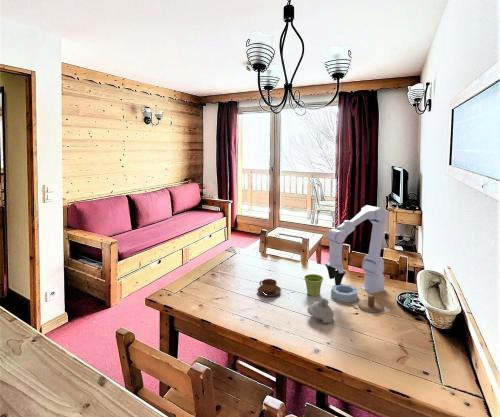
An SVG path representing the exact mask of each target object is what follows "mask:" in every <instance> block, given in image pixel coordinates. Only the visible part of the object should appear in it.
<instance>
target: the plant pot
mask: <svg viewBox="0 0 500 417" xmlns="http://www.w3.org/2000/svg"><path fill="white" fill-rule="evenodd" d="M303 279H304V281H305V287H306V293H307V295H309V296H311V297H313V296H314V297H316V296H319V295H320V292H321V287H322V283H323V280H324V277H323V276H322V275H319V274H316V273H315V274H314V273H311V274H309V273H308V274H305V275H304V277H303Z"/></svg>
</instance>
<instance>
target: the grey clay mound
mask: <svg viewBox="0 0 500 417" xmlns="http://www.w3.org/2000/svg"><path fill="white" fill-rule="evenodd" d="M306 311H307V313H308V314H309V315H310V316H312V317H313V318H314V319H316V320H317V321H321V320H322V322H323V323H324V324H332V322H333V321H334V311H333V310H332V307H331V306H330V305H329V301H328V299H326V298H321V299H320V301H319V300H317V301H315V302H314V303H312V304H310V305H308V307H307V310H306Z"/></svg>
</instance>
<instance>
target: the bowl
mask: <svg viewBox="0 0 500 417" xmlns="http://www.w3.org/2000/svg"><path fill="white" fill-rule="evenodd" d="M330 297H331V298H333V299H334V300H336V301H338V302H343V303H344V302H345V303H351V302H356V301H357V300H358V288H357V287H356V286H353V285H351V284H346V283H341V284H340V285H338V286H336V285H335V284H332V286H331V290H330Z"/></svg>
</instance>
